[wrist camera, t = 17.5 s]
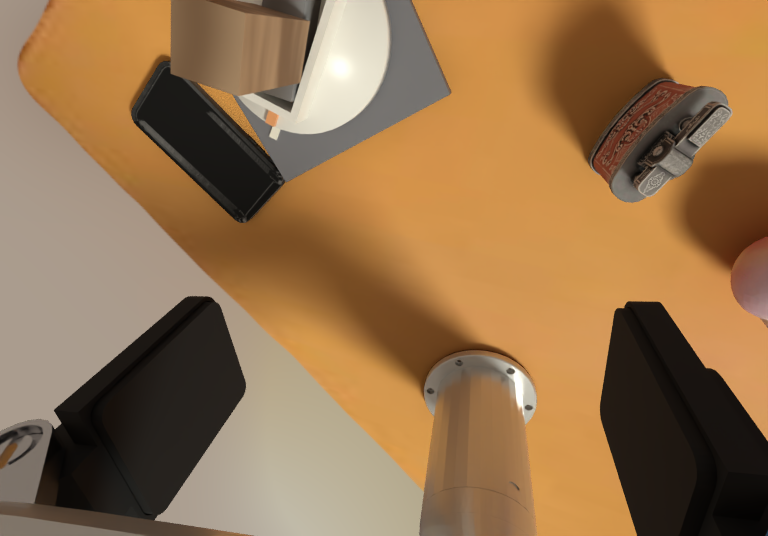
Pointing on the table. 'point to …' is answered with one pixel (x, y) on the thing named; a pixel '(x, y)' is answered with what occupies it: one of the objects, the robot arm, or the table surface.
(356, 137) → the dial plate
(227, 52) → the tan block
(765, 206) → the table surface
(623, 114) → the lighter
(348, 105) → the dial
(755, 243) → the decorative fruit
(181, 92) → the phone
